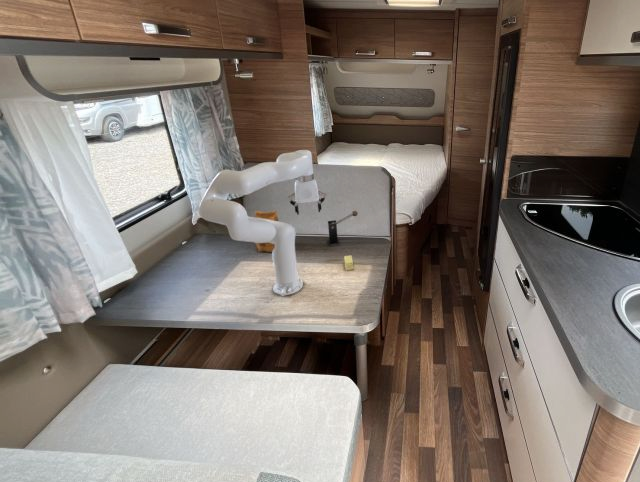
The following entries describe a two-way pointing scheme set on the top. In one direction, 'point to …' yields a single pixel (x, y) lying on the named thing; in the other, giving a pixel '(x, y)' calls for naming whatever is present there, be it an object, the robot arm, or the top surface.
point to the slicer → (332, 232)
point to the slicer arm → (346, 217)
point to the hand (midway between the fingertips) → (308, 212)
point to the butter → (348, 262)
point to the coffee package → (270, 216)
